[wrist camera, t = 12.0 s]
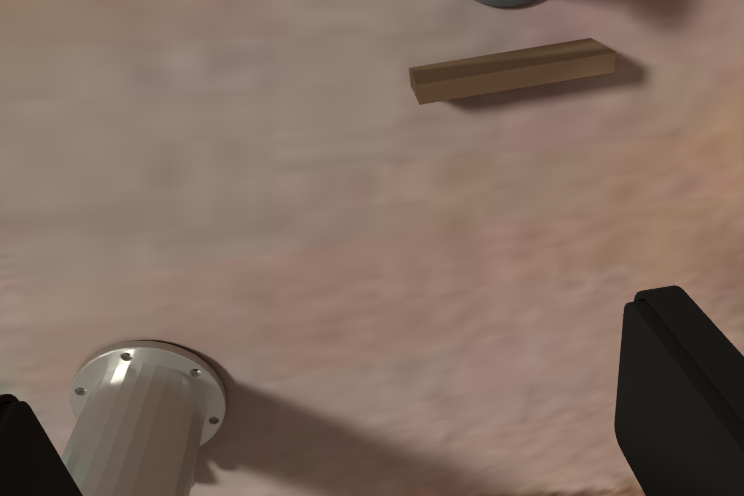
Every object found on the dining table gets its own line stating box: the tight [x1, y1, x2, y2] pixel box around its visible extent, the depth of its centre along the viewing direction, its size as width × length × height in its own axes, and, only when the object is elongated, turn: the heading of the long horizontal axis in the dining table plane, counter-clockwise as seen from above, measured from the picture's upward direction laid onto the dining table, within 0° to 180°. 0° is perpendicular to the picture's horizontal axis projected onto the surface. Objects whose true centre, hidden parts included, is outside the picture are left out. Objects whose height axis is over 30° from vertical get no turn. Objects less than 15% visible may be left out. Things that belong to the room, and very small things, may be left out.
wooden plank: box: [409, 38, 616, 105], centre depth 39 cm, size 1×12×4 cm, turn 98°
